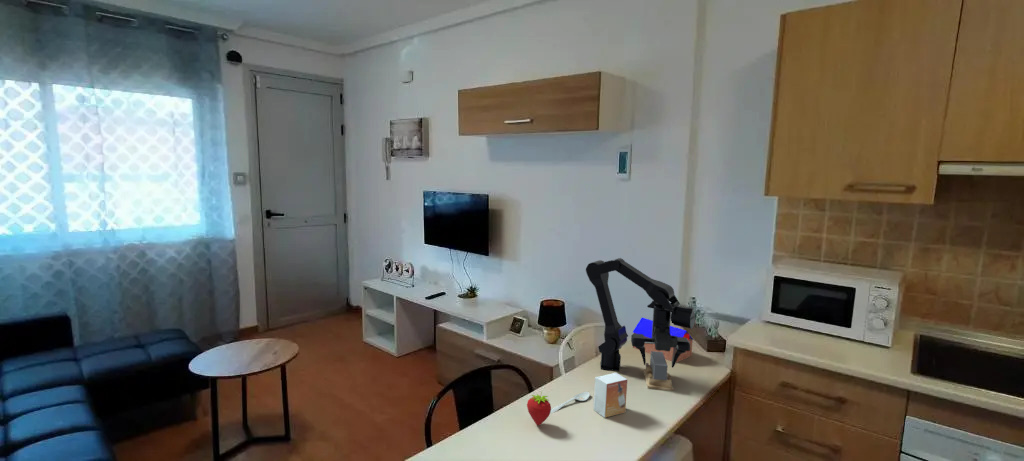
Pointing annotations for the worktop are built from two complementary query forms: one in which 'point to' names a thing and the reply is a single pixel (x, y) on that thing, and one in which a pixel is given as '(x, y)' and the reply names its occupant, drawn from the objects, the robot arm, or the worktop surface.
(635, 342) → the robot arm
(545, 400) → the strawberry
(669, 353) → the house
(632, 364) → the worktop surface
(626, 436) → the worktop surface
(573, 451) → the worktop surface
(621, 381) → the small box
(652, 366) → the grey rectangular block
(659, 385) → the display stand
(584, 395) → the spoon
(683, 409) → the worktop surface
